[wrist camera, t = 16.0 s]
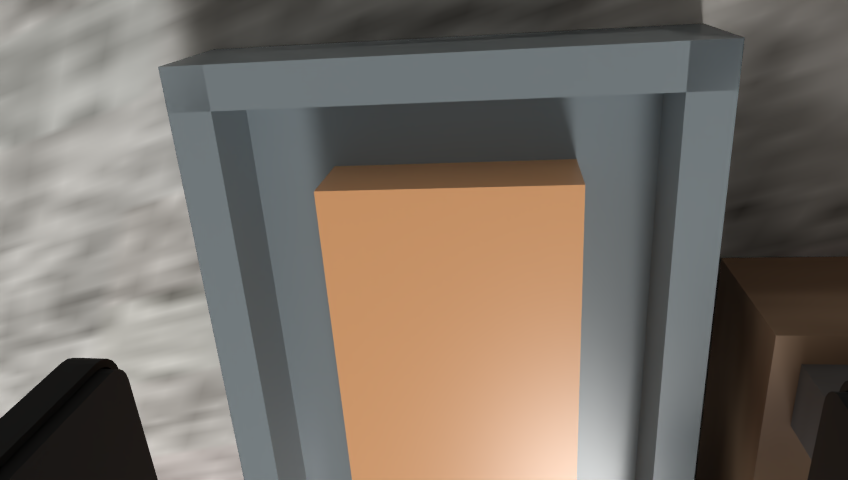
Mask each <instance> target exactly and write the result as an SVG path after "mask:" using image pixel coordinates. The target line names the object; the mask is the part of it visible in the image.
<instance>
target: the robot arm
mask: <svg viewBox="0 0 848 480" xmlns="http://www.w3.org/2000/svg"><path fill="white" fill-rule="evenodd" d="M0 480H158V479H157V476H156V472H155V469H154V466H153V462H152V459H151V455H150V452H149V448H148V445H147V441H146V438H145V434H144V431H143V428H142V424H141V421H140V417H139V414H138V410H137V407H136V403H135V400H134V397H133V393H132V390H131V386H130V383H129V379H128V377H127V375H126V373H125V372H124V371H123V370H120V369H118V367H117V365H116V364H115V363H114V362H113V361H112V360H109V359H95V358H71V359H67V360H65V361H64V362H62V363H61V364H60V365H59V366H58V367H57V368H55V369H54V370H53V371H52V372H51V373H50V374H49V375H48V376H47V377H46V378H44V379H43V380H42V381H41V382H40V383H39V384H38V385H37V386H36V387H34V388H33V389H32V390H31V391H30V392H29V393H28V394H27V395H26V396H25V397H23V398H22V399H21V400H20V401H19V402H18V403H17V404H16V405H15V406H14V407H12V408H11V409H10V410H9V411H8V412H7V413H6V414H5V415H4V416H3V417H1V418H0ZM807 480H848V381H845V382H844V383H843V385H842V386H841V388H840V391H839V392H835V391H831V392H829V393H828V394H827V395H826V397H825V400H824V404H823V408H822V413H821V418H820V423H819V427H818V432H817V437H816V442H815V446H814V451H813V456H812V460H811V465H810V470H809V475H808V479H807Z"/></svg>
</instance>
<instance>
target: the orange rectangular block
mask: <svg viewBox="0 0 848 480" xmlns="http://www.w3.org/2000/svg"><path fill="white" fill-rule="evenodd" d="M314 197H315V205H316V212H317V220H318V227H319V235H320V242H321V250H322V257H323V265H324V273H325V280H326V288H327V295H328V303H329V310H330V318H331V325H332V333H333V340H334V348H335V356H336V363H337V371H338V378H339V386H340V393H341V401H342V408H343V416H344V423H345V431H346V439H347V446H348V454H349V461H350V469H351V476H352V480H577V456H578V421H579V386H580V352H581V317H582V282H583V247H584V213H585V182H584V179H583V176H582V174H581V171H580V168H579V165H578V162H577V159H562V160H529V161H495V162H462V163H428V164H395V165H361V166H334V168H333V169H332V170H331V171H330V172H329V174H328V175H327V176H326V177H325V179H324V180H323V181H322V182H321V183H320V185H319V186H318V187H317V188H316V189H315V191H314Z"/></svg>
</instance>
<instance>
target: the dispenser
mask: <svg viewBox="0 0 848 480" xmlns="http://www.w3.org/2000/svg"><path fill="white" fill-rule="evenodd" d="M845 381H848V257H763V258H721V263H720V272H719V281H718V289H717V298H716V307H715V315H714V324H713V333H712V341H711V350H710V358H709V367H708V376H707V384H706V393H705V402H704V410H703V419H702V428H701V436H700V445H699V454H698V462H697V471H696V480H807V479H808V475H809V470H810V465H811V460H812V456H813V451H814V446H815V442H816V437H817V432H818V427H819V423H820V418H821V413H822V408H823V404H824V400H825V397H826V395H827V394H828V393H829V392H831V391H835V392H839V391H840V388H841V386H842V385H843V383H844V382H845Z"/></svg>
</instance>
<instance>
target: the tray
mask: <svg viewBox="0 0 848 480" xmlns="http://www.w3.org/2000/svg"><path fill="white" fill-rule="evenodd" d="M744 40H745V38H744V37H741V36H738V35H735V34H732V33H729V32H726V31H724V30H721V29H718V28H715V27H712V26H709V25H706V24H686V25H667V26H648V27H629V28H610V29H591V30H572V31H553V32H534V33H515V34H496V35H477V36H459V37H440V38H421V39H402V40H383V41H364V42H345V43H326V44H307V45H288V46H269V47H250V48H231V49H214V50H211V51H207V52H204V53H201V54H198V55H195V56H192V57H188V58H185V59H182V60H179V61H176V62H172V63H169V64H166V65H163V66H160V67H158V68H159V73H160V78H161V83H162V87H163V92H164V97H165V102H166V107H167V111H168V116H169V121H170V126H171V131H172V135H173V140H174V145H175V150H176V155H177V159H178V164H179V169H180V174H181V179H182V183H183V188H184V193H185V198H186V203H187V207H188V212H189V217H190V222H191V227H192V231H193V236H194V241H195V246H196V251H197V256H198V260H199V265H200V270H201V275H202V280H203V284H204V289H205V294H206V299H207V304H208V308H209V313H210V318H211V323H212V328H213V332H214V337H215V342H216V347H217V352H218V356H219V361H220V366H221V371H222V376H223V380H224V385H225V390H226V395H227V400H228V404H229V409H230V414H231V419H232V424H233V428H234V433H235V438H236V443H237V448H238V452H239V457H240V462H241V467H242V472H243V476H244V480H352V476H351V469H350V461H349V454H348V446H347V439H346V431H345V423H344V416H343V408H342V401H341V393H340V386H339V378H338V371H337V363H336V356H335V348H334V340H333V333H332V325H331V318H330V310H329V303H328V295H327V288H326V280H325V273H324V265H323V257H322V250H321V242H320V235H319V227H318V220H317V212H316V205H315V197H314V191H315V189H316V188H317V187H318V186H319V185H320V183H321V182H322V181H323V180H324V179H325V177H326V176H327V175H328V174H329V172H330V171H331V170H332V169H333V168H334V166H361V165H395V164H428V163H462V162H495V161H529V160H562V159H577V162H578V165H579V168H580V171H581V174H582V176H583V179H584V182H585V213H584V247H583V282H582V317H581V352H580V386H579V421H578V456H577V480H694V476H695V467H696V458H697V450H698V441H699V432H700V424H701V415H702V406H703V397H704V389H705V380H706V371H707V362H708V354H709V345H710V336H711V328H712V319H713V310H714V301H715V293H716V284H717V275H718V266H719V258H720V249H721V240H722V232H723V223H724V214H725V205H726V197H727V188H728V179H729V171H730V162H731V153H732V144H733V136H734V127H735V118H736V109H737V101H738V92H739V83H740V75H741V66H742V57H743V48H744Z"/></svg>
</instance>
